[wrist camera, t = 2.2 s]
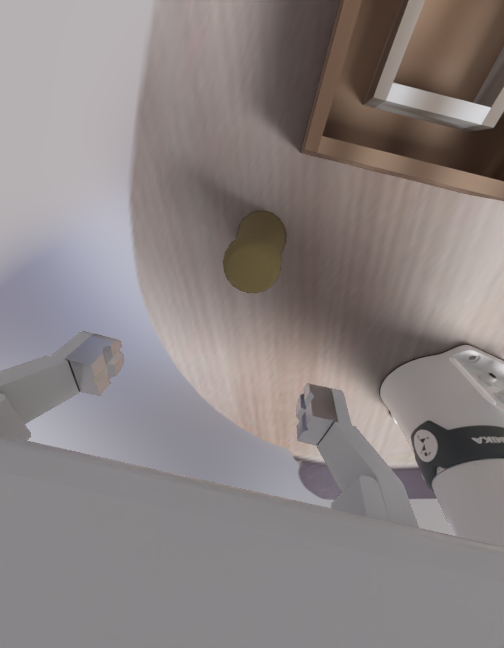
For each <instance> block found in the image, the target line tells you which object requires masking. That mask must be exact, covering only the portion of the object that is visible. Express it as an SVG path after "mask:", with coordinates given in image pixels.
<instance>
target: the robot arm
mask: <svg viewBox="0 0 504 648" xmlns="http://www.w3.org/2000/svg"><path fill="white" fill-rule="evenodd" d="M121 347H122V344H121V341H120V340H117V339H113V338H110V337H106V336H102V335H97V334H93V333H89V332H85V331H83V332H80V333H78V334H77V335H76V336H75V337H73V338H72V339H71V340H70V341H69V342H67V343H66V344H65V345H64V346H62V347H61V348H60V349H59V350H57V351H56V352H55V353H54V354H53V355H51V356H44V357H41V358H38V359H35V360H32V361H29V362H26V363H23V364H20V365H17V366H15V367H11V368H8V369H5V370H2V371H0V648H504V361H503V360H501V359H498V358H496V357H494V356H492V355H490V354H488V353H485V352H483V351H481V350H479V349H477V348H475V347H472V346H470V345H462V346H459V347H456V348H453V349H451V350H449V351H447V352H445V353H442V354H438V355H433V356H428V357H423V358H419V359H416V360H413V361H411V362H408V363H406V364H404V365H402V366H400V367H399V368H397V369H396V370H394V371H393V372H392V373H391V374H389V375H388V376H387V378H386V379H385V380H384V382H383V384H382V386H381V389H380V396H381V399H382V401H383V402H384V404H385V405H386V406H387V408H388V409H389V410H390V412H391V416H392V419H393V420H394V422H395V423H396V424H398V425H399V427H400V429H401V431H402V432H403V434H404V436H405V438H406V439H407V441H408V443H409V445H410V447H411V448H412V450H413V452H414V454H415V459H416V461H417V464H418V466H419V468H420V471H421V474H422V476H423V479H424V480H425V481H426V483H427V485H428V487H429V489H430V490H431V491H432V492H434V493H435V495H436V497H437V499H438V502H439V504H440V506H441V508H442V511H443V513H444V515H445V517H446V519H447V522H448V524H449V526H450V528H451V531H452V533H453V535H454V536H452V535H448V534H443V533H439V532H434V531H430V530H425V529H421V528H419V527H418V524H417V521H416V519H415V516H414V513H413V510H412V507H411V504H410V502H409V499H408V496H407V493H406V490H405V488H404V485H403V483H402V482H401V481H400V479H399V478H398V477H397V476H396V475H395V473H394V472H393V471H392V470H391V469H390V467H389V466H388V465H387V464H386V463H385V461H384V460H383V459H382V458H381V457H380V455H379V454H378V453H377V452H376V451H375V449H374V448H373V447H372V446H371V445H370V443H369V442H368V441H367V440H366V439H365V437H364V436H363V435H362V434H361V433H360V431H359V430H358V429H357V428H356V427H355V426H352V424H351V420H350V417H349V413H348V409H347V405H346V401H345V397H344V393H343V392H342V391H341V390H336V389H332V388H327V387H323V386H318V385H314V384H309V383H307V384H306V385H305V387H304V394H301V395H300V397H299V399H298V402H297V408H296V416H297V418H298V419H299V423H298V424H297V441H300V442H304V443H308V444H312V445H316V446H317V448H318V450H319V452H320V453H321V455H322V457H323V459H324V461H325V463H326V464H327V466H328V468H329V470H330V472H331V473H332V475H333V477H334V479H335V481H336V483H337V484H338V486H339V488H340V490H341V492H342V494H341V495H339V496H338V497H337V498H336V499H335V500H334V501H333V502H332V503H331V507H332V509H331V508H327V507H322V506H318V505H313V504H309V503H304V502H300V501H295V500H290V499H286V498H282V497H277V496H272V495H269V494H264V493H259V492H255V491H251V490H246V489H242V488H237V487H232V486H228V485H224V484H219V483H215V482H210V481H206V480H201V479H197V478H192V477H188V476H183V475H179V474H174V473H170V472H165V471H161V470H156V469H151V468H147V467H142V466H138V465H134V464H129V463H125V462H120V461H115V460H111V459H107V458H102V457H97V456H93V455H89V454H84V453H80V452H75V451H71V450H66V449H61V448H57V447H52V446H48V445H43V444H39V443H35V442H30V441H27V440H28V439H29V438H30V437H31V433H30V431H29V430H28V428H27V427H26V425H25V424H26V423H28V422H29V421H31V420H33V419H35V418H36V417H38V416H40V415H42V414H43V413H45V412H47V411H49V410H50V409H52V408H54V407H56V406H57V405H59V404H61V403H62V402H64V401H66V400H68V399H70V398H71V397H73V396H75V395H77V394H78V393H79V392H83V393H88V394H93V395H98V396H101V394H102V393H103V392H104V391H105V389H106V388H107V387H108V385H109V384H110V378H112V377H114V376H116V375H117V374H118V373H119V371H120V370H121V368H122V366H123V363H124V355H123V353H122V352H121V351H120V348H121Z"/></svg>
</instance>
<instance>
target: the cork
mask: <svg viewBox="0 0 504 648" xmlns="http://www.w3.org/2000/svg"><path fill="white" fill-rule="evenodd" d="M285 243H286V231H285V227H284V225H283V223H282V222H281V220H280V219H279V218H278V217H277V216H275V215H274V214H273V213H270V212H267V211H256V212H253V213H251V214H249V215H248V216H246V217H245V218H244V219H243V220H242V222H241V224H240V225H239V228H238V233H237V238H236V239H235V240H234V241H233V242H232V243H231V244H230V245H229V247H228V248H227V250H226V252H225V255H224V260H223V265H224V272H225V275H226V277H227V279H228V280H229V282H230V283H231V284H232V285H233V286H234V287H236V288H237V289H239V290H240V291H244V292H247V293H258V292H262V291H265V290H266V289H268V288H269V287H271V286H272V285H273V283H274V282H275V281H276V280H277V278H278V276H279V273H280V271H281V257H280V254H281V252H282V250H283V248H284V245H285Z"/></svg>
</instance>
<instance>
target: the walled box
mask: <svg viewBox="0 0 504 648" xmlns="http://www.w3.org/2000/svg"><path fill="white" fill-rule="evenodd" d="M300 153H304V154H308V155H312V156H316V157H320V158H324V159H328V160H332V161H336V162H340V163H344V164H348V165H352V166H356V167H360V168H364V169H368V170H372V171H376V172H380V173H384V174H388V175H392V176H396V177H400V178H404V179H409V180H413V181H417V182H421V183H425V184H429V185H433V186H437V187H441V188H445V189H449V190H453V191H457V192H461V193H465V194H469V195H473V196H479V197H484V198H490V199H496V200H501V201H504V0H340V3H339V6H338V10H337V14H336V18H335V22H334V26H333V29H332V33H331V37H330V41H329V45H328V49H327V53H326V56H325V60H324V64H323V68H322V72H321V76H320V79H319V83H318V87H317V91H316V95H315V99H314V102H313V106H312V110H311V114H310V118H309V122H308V126H307V129H306V133H305V137H304V141H303V145H302V149H301V152H300Z"/></svg>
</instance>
